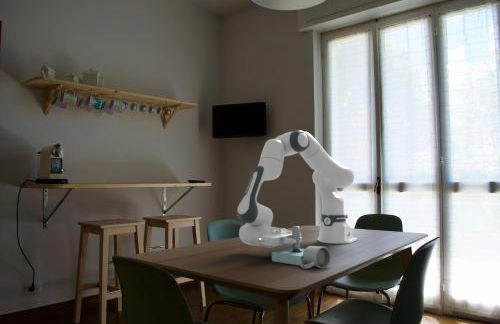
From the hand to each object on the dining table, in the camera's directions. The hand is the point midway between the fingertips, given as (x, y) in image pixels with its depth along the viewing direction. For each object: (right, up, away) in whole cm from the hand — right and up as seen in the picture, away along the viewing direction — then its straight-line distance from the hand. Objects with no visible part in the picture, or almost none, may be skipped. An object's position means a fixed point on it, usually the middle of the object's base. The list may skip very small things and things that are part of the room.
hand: (298, 240), depth 154 cm
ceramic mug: (+5, -8, -12) cm, 15 cm away
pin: (-1, -7, 0) cm, 7 cm away
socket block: (-1, -8, 0) cm, 8 cm away
